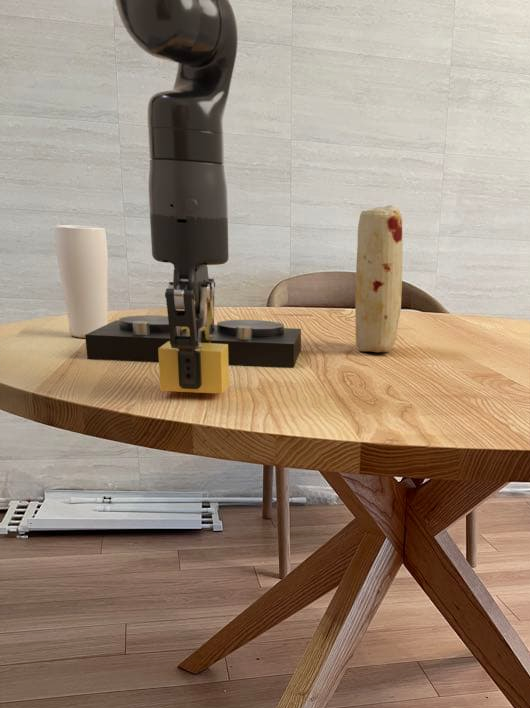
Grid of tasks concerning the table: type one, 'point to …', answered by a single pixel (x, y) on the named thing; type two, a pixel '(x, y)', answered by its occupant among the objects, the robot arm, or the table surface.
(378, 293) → the food model
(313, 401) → the table surface
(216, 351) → the cheese
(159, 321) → the stove
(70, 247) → the drinking glass
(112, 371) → the table surface
